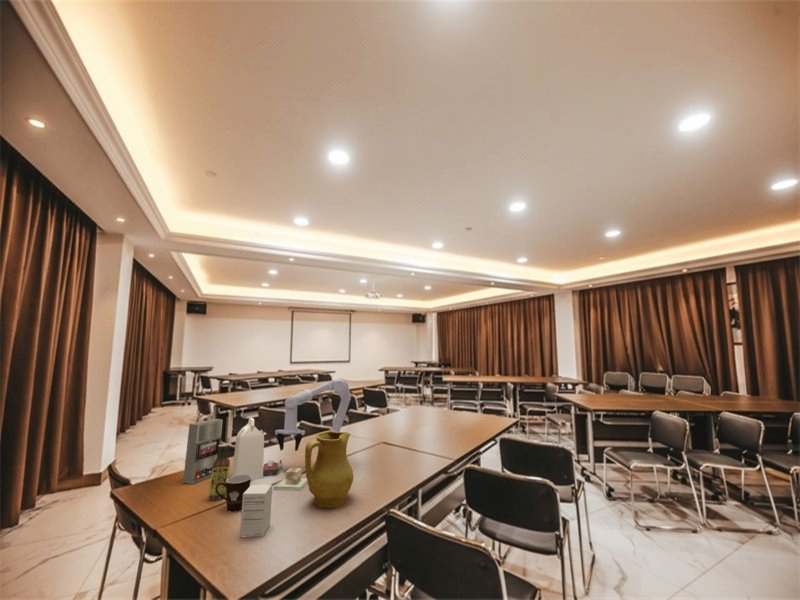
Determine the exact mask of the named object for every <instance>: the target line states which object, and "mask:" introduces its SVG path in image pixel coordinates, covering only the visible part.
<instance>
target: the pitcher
mask: <svg viewBox="0 0 800 600" xmlns="http://www.w3.org/2000/svg"><path fill="white" fill-rule="evenodd" d="M350 435H351V433H350V432H348V431H346V432H345V431H343V432H342V431H340V432H333V431H331V430H328V431H322V432H318V433H316V434H315V437H316V439H310V440H308V441H307V443H306V445H305V452H304V453H305V454H304V462H305V463H304V464H305V465H304V467H305V477H306V478H307V481H308V483H307V485H308V490H309V492H310V493H311V494H312V495H313V496H314V498H313V504H315V506H317V507H320V508H324V509H332V508H333V509H335V508H338V507H341V506H342V505H344V504H345V502H346V500H347V498H346V497H347V495H348V493H349V491H350V490H351V488H352V485H353V481H354V472H353V469H352V466H351V464H350V462H349V460H348V456H347V446H348V441H349V439H350V438H349V437H350ZM315 448H318V449H317V455H316V459H315V462H314V463H313V465H312V453H313V452H312V451H313V449H315Z"/></svg>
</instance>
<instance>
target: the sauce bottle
mask: <svg viewBox="0 0 800 600" xmlns="http://www.w3.org/2000/svg"><path fill="white" fill-rule="evenodd" d="M229 449H230V444H229V443H221V444H220V445H218V455H217V458H216V460H215V461H214V463H213V469H212V474H211V477H210V483H209V489H208V490H209V491H208V495H209V496H208V499H209V500H210V501H219V500H224V499H223V498H222V497H220V496H219V495H218V494H217V493H216V491H215V488H216V486H217V485H218V484H220V483H225V484H226V480H227V479H228V478H229V473H230V464H231V463H230V459H229V457H228V456H229V455H228V454H229ZM217 491H218V492H219V494H221V495H222V496H224V497H225V498H226V487H225V486H224V485H219V486H218V487H217Z"/></svg>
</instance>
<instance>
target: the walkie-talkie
mask: <svg viewBox="0 0 800 600" xmlns="http://www.w3.org/2000/svg"><path fill="white" fill-rule="evenodd" d="M282 468H283V461H282V459H280V460H279V463H278V462H275V461H274V460H268V462H267V463H263V478H264V477H275V476H276V475H278V472H280V471H282Z"/></svg>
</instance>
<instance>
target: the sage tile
mask: <svg viewBox="0 0 800 600" xmlns="http://www.w3.org/2000/svg"><path fill="white" fill-rule="evenodd" d="M285 479H286V476H284V477H283V478H282V479H281V480H280V481H278V482H277V483H276V484H274V485H273V486H272V490H280V491H282V490H283V491H302V490H303V489H304V488H305V487H306V485H308V481H307V478H306V476H301V481H300V482H299V483H298V484H297V485H291V484H285Z"/></svg>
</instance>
